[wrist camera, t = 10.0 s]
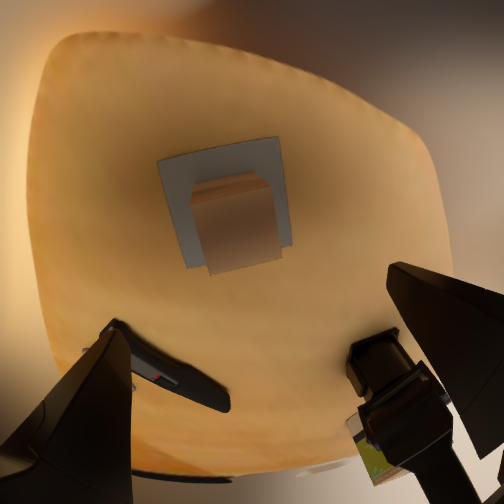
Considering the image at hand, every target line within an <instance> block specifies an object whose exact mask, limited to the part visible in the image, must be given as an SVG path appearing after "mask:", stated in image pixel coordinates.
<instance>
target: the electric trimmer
mask: <svg viewBox="0 0 504 504" xmlns="http://www.w3.org/2000/svg"><path fill="white" fill-rule="evenodd" d="M112 329H118V330H119V331H120V332H121V333H122V335H123V337H124V338H125V340H126V342H127V343H128V345H129V347H130V350H131V372H133V373H135V374H137V375H139V376H141V377H142V378H144V379H146V380H148V381H150V382H152V383H154V384H156V385H158V386H160V387H162V388H164V389H166V390H169V391H171V392H174V393H176V394H178V395H181V396H183V397H185V398H188V399H190V400H192V401H195V402H197V403H199V404H202V405H204V406H207V407H209V408H212V409H214V410H217V411H220V412H223V413H228V412H229V411H230V408H231V403H230V396H229V394H228V393H227V392H226V391H224V390H223V389H222V388H220V387H219V386H217V385H216V384H214V383H213V382H211V381H210V380H208V379H207V378H206V377H204V376H203V375H201V374H200V373H199V372H197V371H196V370H194V369H193V368H191V367H189V366H177V365H176V364H174V363H172V362H171V361H169V360H168V359H166V358H164V357H163V356H161V355H160V354H158V353H156V352H155V351H153V350H152V349H150V348H149V347H147V346H146V345H144V344H143V343H141V342H140V341H138V340H137V339H135V338H134V337H132V336H131V335H130V334H129V333H128V331H127V328H126V326H125V324H124V323H123V322H122V321H120V322H117V321H115V320H114V319H113V320H112V321H111V322H110V323H109V324H108V325H107V326H106V327H105V328H104V329H103V330H102V332H101V333H100V335H99V338H100V337H101V336H102V335H103V334H104V333H105V332H106V331H107V330H112Z"/></svg>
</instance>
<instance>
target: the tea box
mask: <svg viewBox="0 0 504 504" xmlns="http://www.w3.org/2000/svg"><path fill="white" fill-rule="evenodd" d="M358 413H359V411H358V412H357V413H356V414H354V415H353V416H352V417H351V418H350V419H348V420H347V421H346V424H347V426H348V428H349V431H350V433H351V435H352V437H353V440H354V442H355V444H356V446H357V449H358V451H359V453H360V455H361V457H362V460H363V462H364V464H365V467H366V469H367V471H368V474H369V476H370V478H371V480H372V482H373V485H374V487H375V486H377V485H380V484H383V483H386V482H388V481H391V480H393V479H396V478H398V477H401V476H403V475H406V474H408V473H410V471H407V470H405V469H403V468H400V467H394V466H392V465H391V464H389V463H388V462H387V461H386V458H385V456H384V455H383V453H382V451H381V452H378V451H377V450H376V449H375V448H374V447H373V446H372V445H368V444H367V442H366V438H365V432H364V429H363V426H362V423H361V420H360V417H359V414H358ZM452 443H453V440H452Z"/></svg>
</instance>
